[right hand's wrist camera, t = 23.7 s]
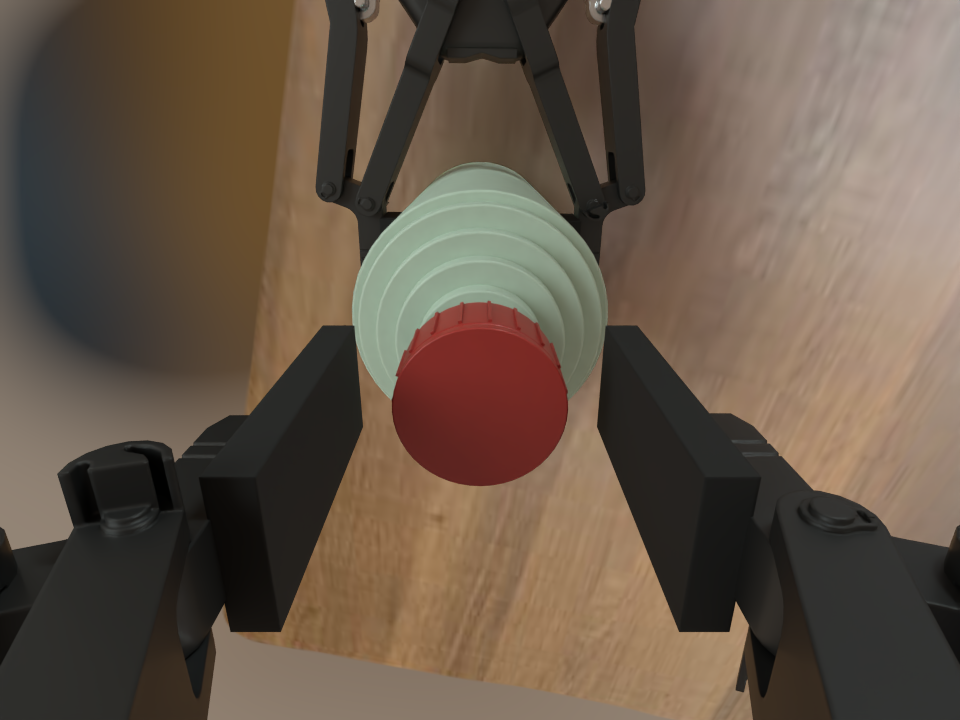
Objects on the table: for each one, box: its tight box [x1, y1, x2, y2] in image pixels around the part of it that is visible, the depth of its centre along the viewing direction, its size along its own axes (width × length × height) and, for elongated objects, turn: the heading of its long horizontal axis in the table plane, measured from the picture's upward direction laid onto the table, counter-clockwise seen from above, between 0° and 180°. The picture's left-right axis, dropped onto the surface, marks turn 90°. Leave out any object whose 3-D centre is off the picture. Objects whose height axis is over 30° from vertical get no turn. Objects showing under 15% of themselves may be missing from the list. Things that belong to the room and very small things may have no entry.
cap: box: [392, 301, 568, 486], centre depth 13 cm, size 4×4×2 cm
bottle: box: [352, 162, 608, 400], centre depth 24 cm, size 8×8×24 cm
